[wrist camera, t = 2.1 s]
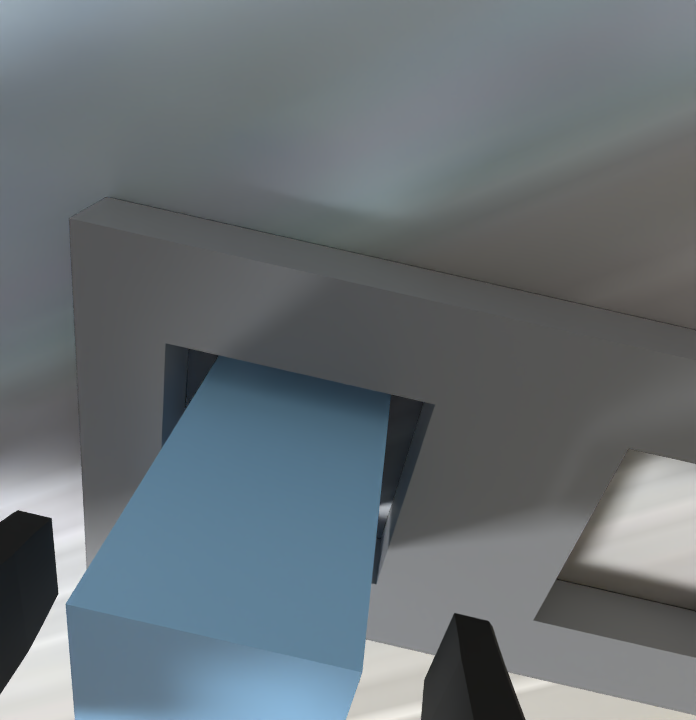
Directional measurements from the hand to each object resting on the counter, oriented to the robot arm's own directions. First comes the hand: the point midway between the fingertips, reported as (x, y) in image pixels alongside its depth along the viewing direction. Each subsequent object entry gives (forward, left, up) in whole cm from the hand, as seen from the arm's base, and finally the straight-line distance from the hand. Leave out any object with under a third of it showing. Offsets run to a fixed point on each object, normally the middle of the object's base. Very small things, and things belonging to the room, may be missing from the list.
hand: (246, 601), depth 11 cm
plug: (0, 0, -5) cm, 5 cm away
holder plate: (+4, -2, -5) cm, 7 cm away
